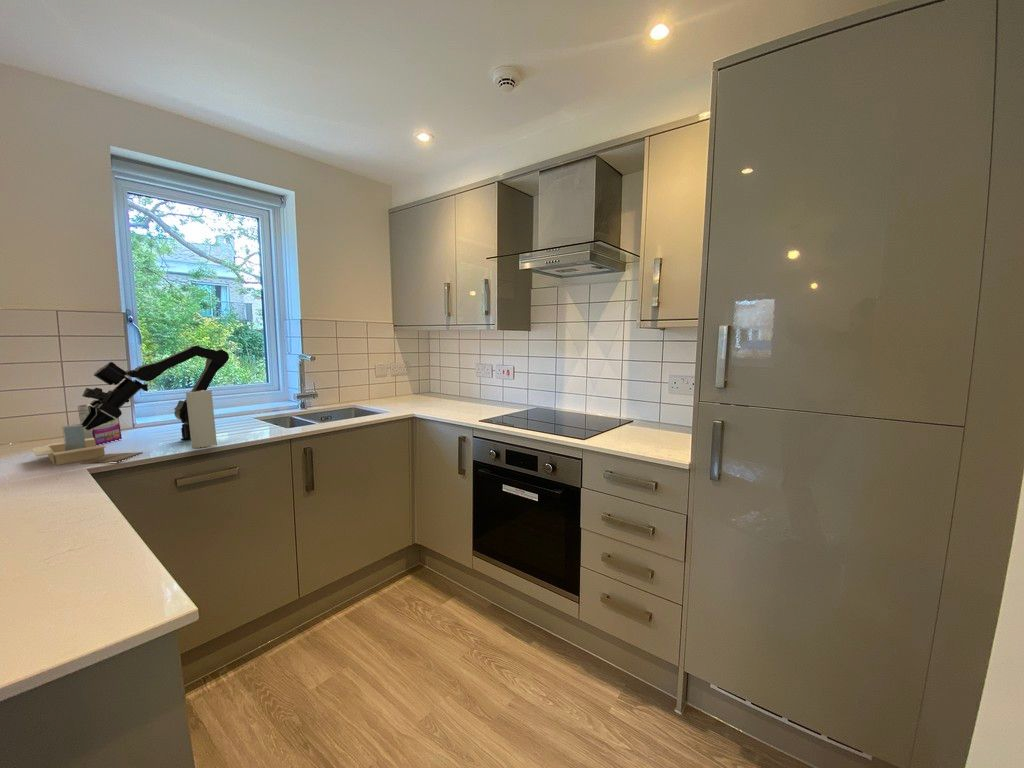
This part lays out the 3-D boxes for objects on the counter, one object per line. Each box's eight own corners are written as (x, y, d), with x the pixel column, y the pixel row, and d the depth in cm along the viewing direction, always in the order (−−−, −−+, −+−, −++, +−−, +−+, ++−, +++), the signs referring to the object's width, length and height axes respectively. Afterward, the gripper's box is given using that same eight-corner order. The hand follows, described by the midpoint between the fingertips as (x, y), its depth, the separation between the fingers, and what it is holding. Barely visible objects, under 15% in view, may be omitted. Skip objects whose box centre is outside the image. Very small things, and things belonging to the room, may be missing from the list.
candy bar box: (110, 440, 173) (105, 400, 171) (122, 439, 172) (117, 400, 171) (82, 447, 161) (76, 405, 160) (95, 447, 161) (89, 405, 160)
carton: (116, 445, 162) (114, 434, 162) (130, 454, 148) (128, 442, 148) (32, 459, 145) (30, 446, 145) (39, 471, 131) (37, 457, 131)
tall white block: (187, 447, 157) (181, 391, 155) (204, 443, 163) (199, 389, 160) (200, 449, 154) (194, 391, 152) (217, 445, 160) (211, 389, 158)
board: (142, 454, 149) (142, 452, 149) (118, 463, 138) (118, 461, 138) (108, 456, 148) (108, 453, 148) (80, 465, 137) (80, 462, 137)
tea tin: (84, 454, 149) (80, 424, 148) (87, 456, 146) (82, 425, 145) (66, 457, 145) (61, 426, 144) (68, 459, 143) (63, 427, 141)
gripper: (94, 378, 155) (54, 411, 148) (105, 380, 144) (62, 417, 136) (125, 396, 162) (88, 429, 155) (137, 400, 151) (98, 436, 143)
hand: (84, 427), depth 147 cm, fingers open, 9 cm apart
